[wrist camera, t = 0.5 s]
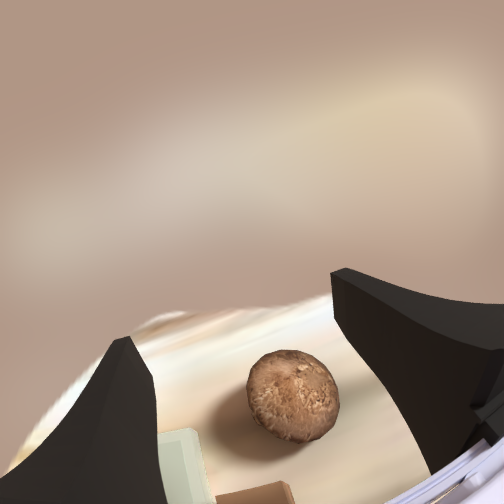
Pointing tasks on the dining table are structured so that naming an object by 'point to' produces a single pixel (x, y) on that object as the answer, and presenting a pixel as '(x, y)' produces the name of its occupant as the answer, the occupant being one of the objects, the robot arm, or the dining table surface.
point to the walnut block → (260, 495)
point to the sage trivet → (183, 468)
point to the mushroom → (293, 395)
